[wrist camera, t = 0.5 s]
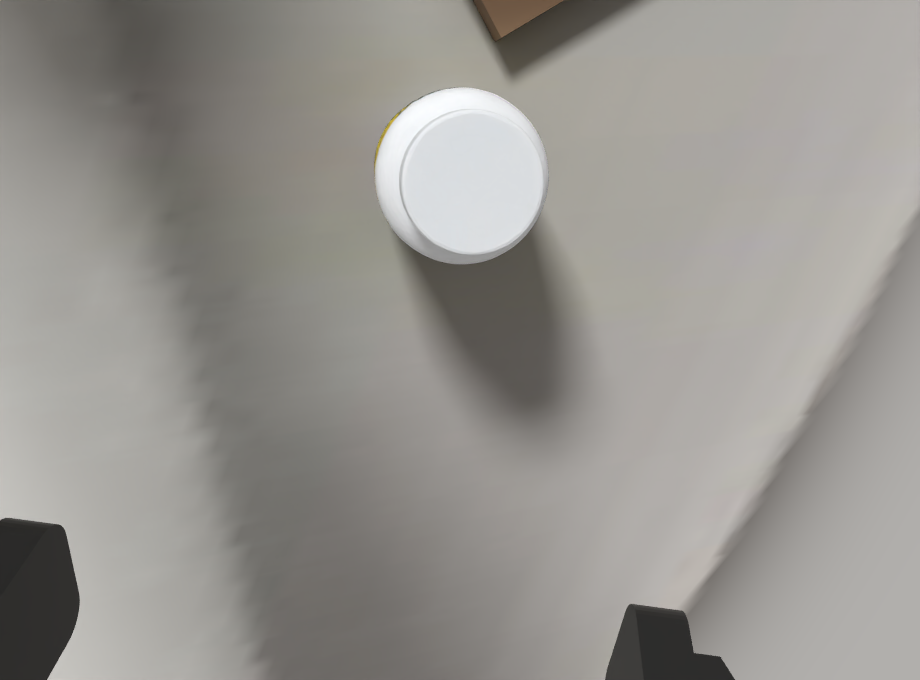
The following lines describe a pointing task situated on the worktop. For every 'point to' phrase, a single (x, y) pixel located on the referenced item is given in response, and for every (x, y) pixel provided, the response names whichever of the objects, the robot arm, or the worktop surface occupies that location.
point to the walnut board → (510, 13)
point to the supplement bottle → (461, 175)
